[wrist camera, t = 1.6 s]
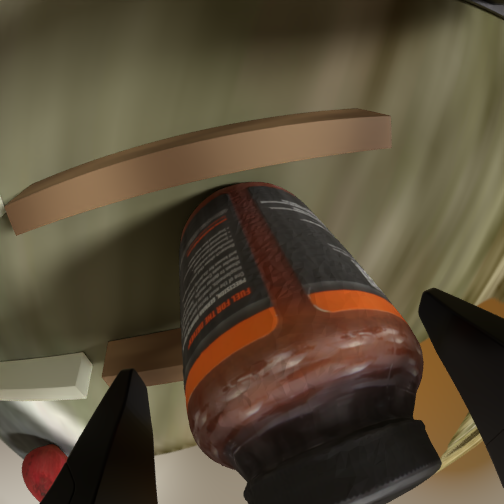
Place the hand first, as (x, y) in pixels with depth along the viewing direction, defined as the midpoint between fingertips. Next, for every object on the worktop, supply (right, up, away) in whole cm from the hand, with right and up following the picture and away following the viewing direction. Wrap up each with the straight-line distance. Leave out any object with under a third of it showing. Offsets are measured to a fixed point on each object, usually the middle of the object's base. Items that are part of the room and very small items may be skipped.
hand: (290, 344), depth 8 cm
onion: (-21, -16, +12) cm, 29 cm away
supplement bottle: (-1, +3, +6) cm, 6 cm away
